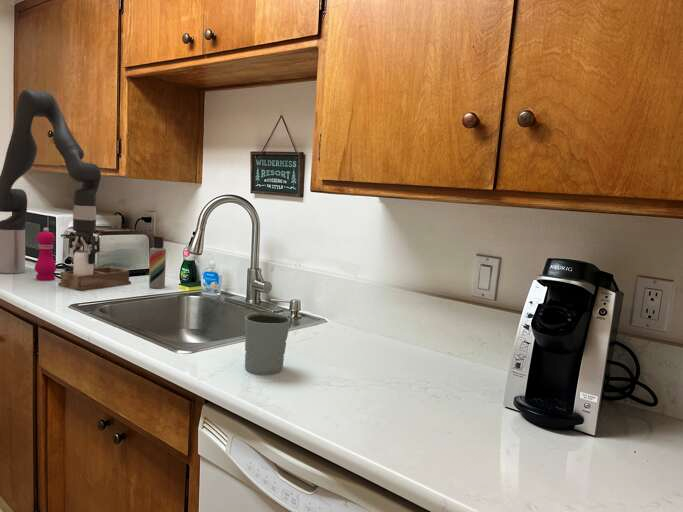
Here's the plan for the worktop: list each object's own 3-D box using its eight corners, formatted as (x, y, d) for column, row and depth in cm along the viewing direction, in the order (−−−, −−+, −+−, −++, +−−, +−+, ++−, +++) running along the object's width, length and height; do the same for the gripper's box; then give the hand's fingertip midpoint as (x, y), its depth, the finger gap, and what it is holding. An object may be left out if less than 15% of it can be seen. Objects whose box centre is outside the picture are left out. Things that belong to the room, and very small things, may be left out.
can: (74, 285, 184) (75, 252, 183) (71, 282, 190) (72, 249, 188) (94, 284, 188) (95, 252, 187) (91, 281, 193) (91, 249, 192)
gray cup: (233, 366, 118) (236, 315, 116) (267, 358, 125) (270, 310, 124) (261, 379, 111) (264, 325, 109) (295, 370, 118) (299, 319, 117)
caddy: (58, 285, 187) (58, 271, 187) (108, 279, 206) (109, 266, 205) (81, 291, 181) (81, 276, 181) (130, 284, 200) (131, 271, 199)
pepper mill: (30, 279, 194) (30, 226, 192) (46, 276, 201) (46, 226, 199) (45, 281, 192) (45, 228, 190) (60, 279, 199) (61, 227, 197)
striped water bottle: (146, 286, 198) (148, 234, 195) (161, 285, 202) (162, 235, 199) (152, 289, 194) (154, 236, 191) (167, 288, 197) (168, 236, 195)
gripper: (62, 216, 186) (62, 260, 188) (87, 220, 179) (87, 265, 181) (81, 216, 193) (81, 259, 195) (106, 219, 186) (105, 263, 188)
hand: (83, 262), depth 188 cm, fingers open, 8 cm apart
